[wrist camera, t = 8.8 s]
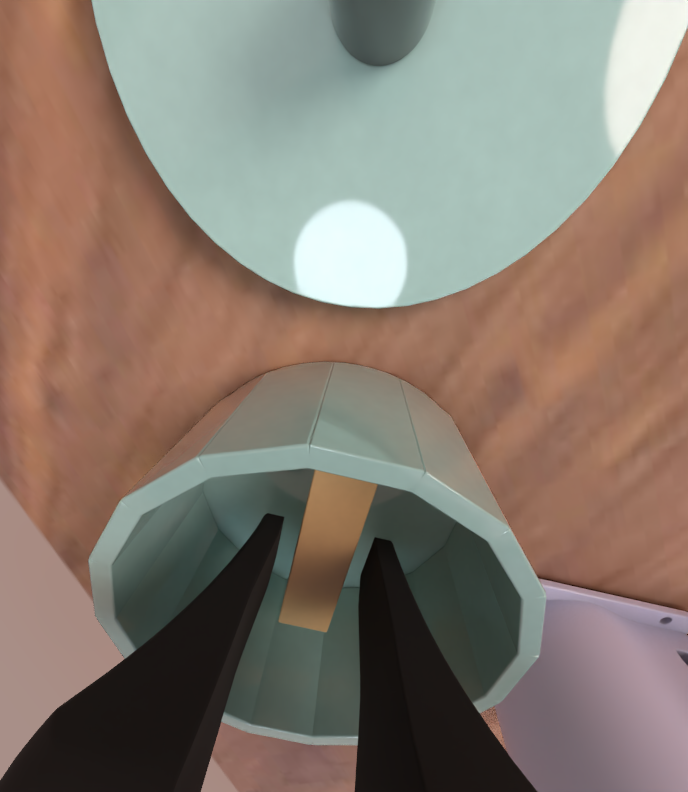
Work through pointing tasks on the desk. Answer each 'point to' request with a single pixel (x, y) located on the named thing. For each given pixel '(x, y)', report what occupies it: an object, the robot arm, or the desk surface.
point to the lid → (385, 127)
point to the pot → (287, 496)
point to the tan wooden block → (325, 548)
